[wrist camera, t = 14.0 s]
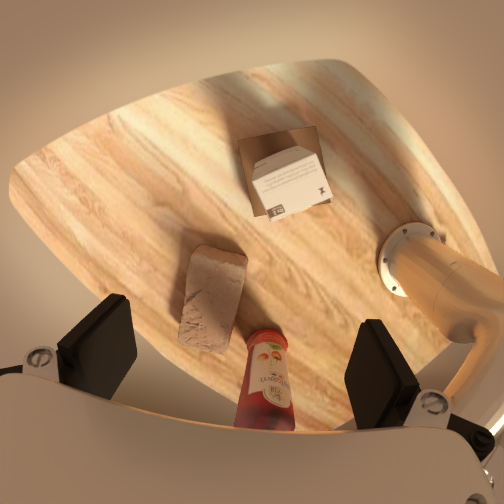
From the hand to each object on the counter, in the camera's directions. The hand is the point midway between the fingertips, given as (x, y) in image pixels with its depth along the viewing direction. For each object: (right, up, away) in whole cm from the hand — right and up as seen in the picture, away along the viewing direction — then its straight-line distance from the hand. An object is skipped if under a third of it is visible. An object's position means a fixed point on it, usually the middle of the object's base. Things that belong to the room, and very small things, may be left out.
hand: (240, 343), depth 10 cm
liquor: (+3, -12, +36) cm, 38 cm away
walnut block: (+5, +15, +28) cm, 32 cm away
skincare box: (+4, +14, +23) cm, 27 cm away
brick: (-6, -4, +35) cm, 35 cm away
